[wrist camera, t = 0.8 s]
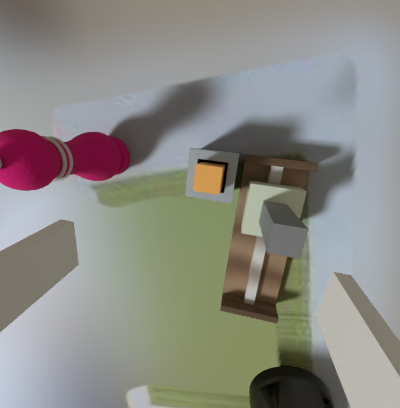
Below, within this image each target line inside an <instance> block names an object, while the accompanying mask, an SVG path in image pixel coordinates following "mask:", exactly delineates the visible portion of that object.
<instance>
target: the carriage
mask: <svg viewBox="0 0 400 408" xmlns="http://www.w3.org/2000/svg"><path fill="white" fill-rule="evenodd" d="M306 193H307V191H305V190H304V189H302V188H301V187H294V186H286V185H279V184H272V183H265V182H258V181H250V180H249V185H248V191H247V197H246V202H245V208H244V214H243V219H242V225H241V233H243V234H249V235H254V236H260V237H263V240H264V243H265V247H266V251H267V253H270V254H276V255H281V256H286V257H292V258H297V259H300V258H301V254H302V250H303V246H304V243H305V239H306V235H307V232H308V228H307V227H306V226H305V225H304V224H303V222H302V221H301V220H300V217H301V213H302V209H303V205H304V201H305V197H306Z"/></svg>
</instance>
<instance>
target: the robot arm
mask: <svg viewBox="0 0 400 408" xmlns="http://www.w3.org/2000/svg"><path fill="white" fill-rule="evenodd" d="M77 265H78V255H77V246H76V238H75V229H74V222H71V221H66V220H59V221H57V222H55V223H53V224H51V225H49V226H47V227H46V228H44V229H42V230H40V231H38V232H36V233H34V234H33V235H30V236H28V237H27V238H25V239H23V240H21V241H19V242H17V243H15V244H13V245H12V246H9V247H8V248H6V249H4V250H2V251H0V332H1V331H2V330H3V329H4V328H6V327H7V326H8V325H9V324H10V323H11V322H13V321H14V320H15V319H16V318H17V317H18V316H20V315H21V314H22V313H23V312H24V311H25V310H26V309H27V308H29V307H30V306H31V305H32V304H33V303H35V302H36V301H37V300H38V299H39V298H40V297H42V296H43V295H44V294H45V293H46V292H47V291H49V290H50V289H51V288H52V287H53V286H54V285H55V284H57V283H58V282H59V281H60V280H61V279H62V278H64V277H65V276H66V275H67V274H68V273H69V272H70V271H72V270H73V269H74V268H75V267H76V266H77ZM315 317H316V320H317V323H318V325H319V328H320V330H321V333H322V335H323V338H324V340H325V343H326V346H327V348H328V351H329V353H330V356H331V358H332V361H333V364H334V366H335V369H336V371H337V374H338V376H339V379H340V381H341V384H342V387H343V389H344V392H345V394H346V397H347V399H348V402H349V405H350V407H351V408H400V341H399V340H398V338H397V337H396V336H395V334H394V333H393V332H392V331H391V329H390V327H389V326H388V325H387V323H386V322H385V321H384V319H383V318H382V317H381V315H380V314H379V313H378V311H377V310H376V308H375V307H374V306H373V305H372V303H371V302H370V300H369V299H368V298H367V296H366V295H365V294H364V292H363V291H362V290H361V288H360V287H359V285H358V284H357V283H356V281H355V280H354V279H353V277H352V276H351V275H346V274H341V273H336V272H333V274H332V277H331V279H330V281H329V284H328V286H327V289H326V291H325V294H324V296H323V298H322V301H321V303H320V306H319V308H318V311H317V313H316V315H315ZM249 393H250V407H251V408H334V404H333V401H332V399H331V396H330V393H329V391H328V389H327V387H326V386H325V384H324V383H323V382H322V381H321V380H320V379H319V378H317V377H316V376H314V375H313V374H311V373H309V372H307V371H305V370H302V369H299V368H294V367H274V368H270V369H267V370H264V371H263V372H261V373H259V374H258V375H257V376H256V377H255V378H254V379H253V381H252V383H251V385H250V391H249Z"/></svg>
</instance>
